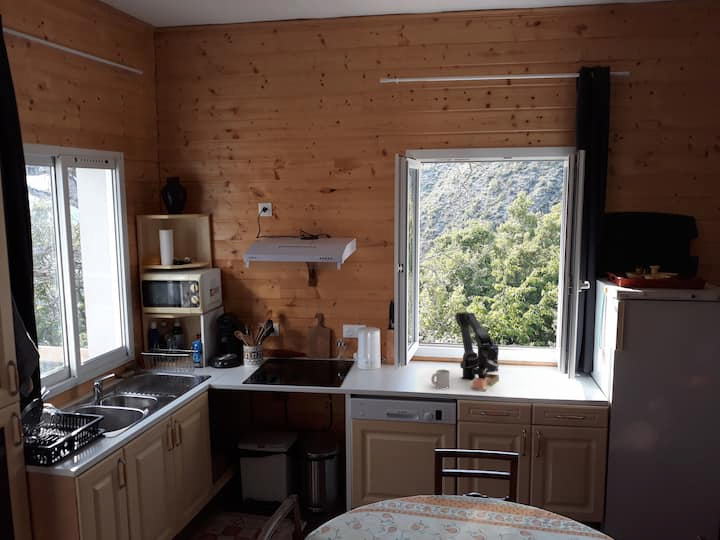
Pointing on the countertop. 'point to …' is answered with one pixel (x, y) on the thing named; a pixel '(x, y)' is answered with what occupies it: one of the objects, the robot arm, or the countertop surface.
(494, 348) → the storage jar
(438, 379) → the cup
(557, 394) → the countertop surface
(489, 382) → the wooden tray
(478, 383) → the block
